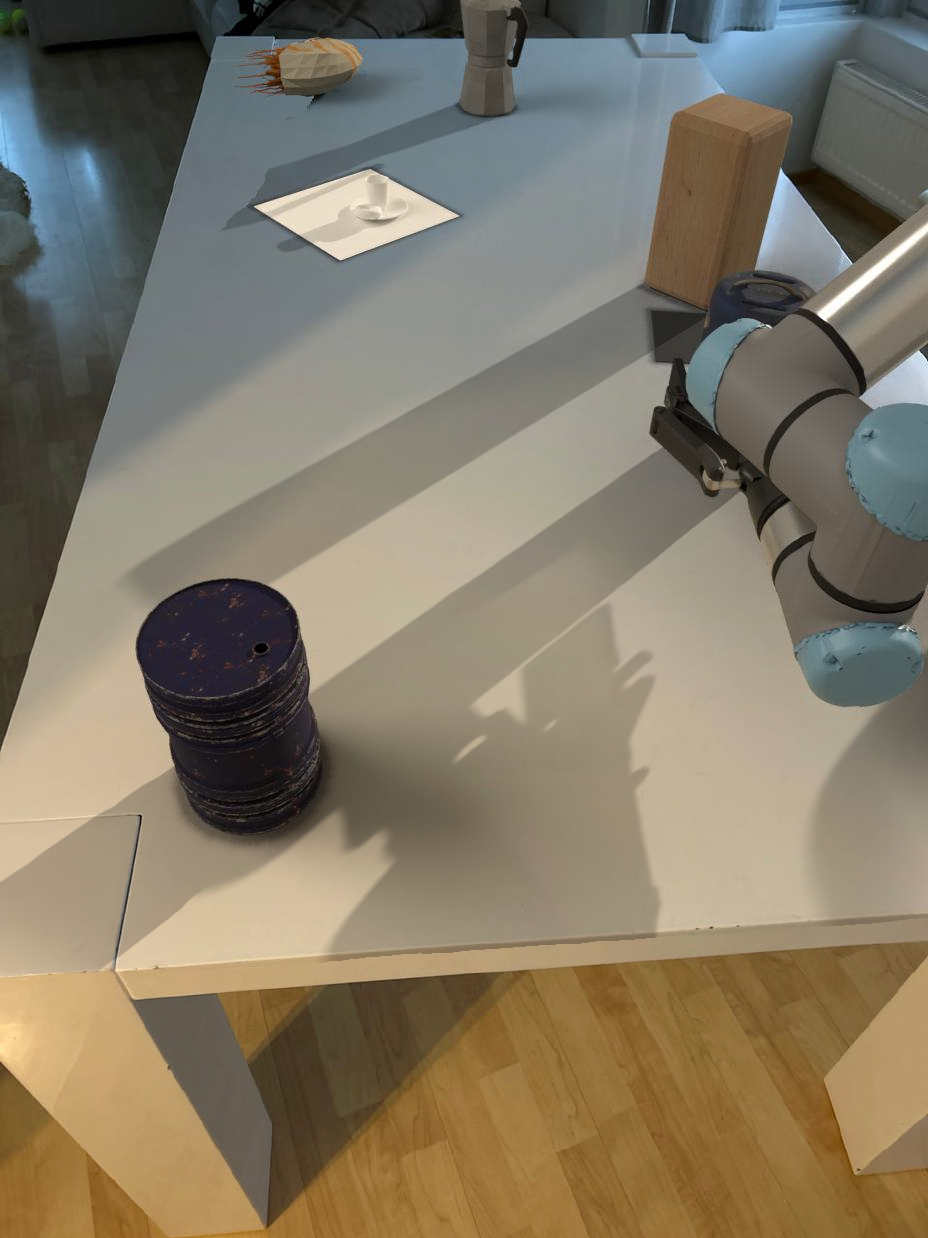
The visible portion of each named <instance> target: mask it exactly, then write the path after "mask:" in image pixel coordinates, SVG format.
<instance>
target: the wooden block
mask: <svg viewBox="0 0 928 1238" xmlns="http://www.w3.org/2000/svg"><path fill="white" fill-rule="evenodd" d="M792 124H793V115H792V114H791V113H789V112H787V111H785V110H781V109H778V108H774V107H771V106H767V105H764V104H762V103H757V102H754V101H751V100H748V99H744V98H741V97H738V96H734V95H730V94H727V93H725V92H724V93H723V92H721V93H716V94H713V95H712V96H709V97H706V98H704V99H702V100H700V101H698V102H696V103H693V104H692V105H690V106H687V107H685V108H682V109H680V110H678V111H676V112H675V113H674V114H673V116H672V118H671V120H670V125H669V130H668V131H669V132H668V137H667V143H666V149H665V153H664V160H663V166H662V173H661V179H660V185H659V190H658V197H657V203H656V210H655V215H654V221H653V227H652V233H651V240H650V245H649V251H648V256H647V257H648V258H647V264H646V269H645V275H644V276H645V277H644V281H645V284H646V285H647V286H648V287H650V288H652V289H655V290H657V291H658V292H659V291H660V292H661V293H664V294H667V295H669V296H671V297H674V298H676V299H679V300H681V301H684V302H686V303H688V304H690V305H692V306H695V307H698V308H700V309H702V310H707V311H708V308H709V304H710V300H711V296H712V293H713V290H714V289H715V287H716V285H717V284H718V283H719V282H720V281H721V280H722V279H724V278H725V277H727V276H729V275H732V274H734V273H737V272H742V271H750V270H756V267H757V263H758V260H759V256H760V251H761V247H762V243H763V239H764V235H765V231H766V227H767V223H768V220H769V216H770V213H771V212H770V211H771V208H772V204H773V199H774V197H775V192H776V189H777V184H778V180H779V176H780V172H781V170H782V169H781V168H782V166H783V165H782V163H783V161H784V157H785V153H786V150H787V149H786V148H787V145H788V140H789V137H790V132H791V129H792Z"/></svg>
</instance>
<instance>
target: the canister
mask: <svg viewBox="0 0 928 1238" xmlns="http://www.w3.org/2000/svg"><path fill="white" fill-rule="evenodd" d="M817 293H818V292H816V291H815V290H814V289H813V288H812V287H811V286H810V285H809V284H808V283H806V282H805V281H803V280H801V279H799V278H797V277H795V276H793V275H788V274H785V273H782V272H778V271H772V270H762V269H755V270H750V271H742V272H737V273H734V274H732V275H729V276H727V277H725V278H724V279H722V280H721V281H720V282H719V283H718V284H717V285H716V287H715V289H714V290H713V293H712V296H711V300H710V304H709V308H708V310H707V312H706V313H707V316H706V320H705V324H704V328H703V333H702V337H701V341H700V345H701V344H702V342H703V341H704V340H705V339H706V338H707V337H708V336H709V335H710V334H711V333H712V332H713V331H715V330H716V329H717V328H719V327H720V326H722V325H724V324H730V323H733V322H736V321H737V320H738V319H742V318H749V319H754V320H757V321H759V322H761V323H764V324H767V325H770V326H771V327H772V328H773V327H775V326H776V325H777V324H779V323H780V322H781V321H782V320H783V319H785V318H786V317H787V316H788V315H790V314H791V313H792V312H793V311H795V310H796V309H798V308H799V307H801V306H802V305H803V304H804V303H805V302H807V301H808V300H809V299H810V298H812V297H813V296H814V295H815V294H817ZM700 345H699V346H700ZM693 408H694V409H696V408H695V407H694V406H693ZM696 410H697V409H696ZM746 460H747V458H746V459H745V461H746ZM726 466H727V465H726Z"/></svg>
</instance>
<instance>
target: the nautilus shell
mask: <svg viewBox="0 0 928 1238" xmlns="http://www.w3.org/2000/svg"><path fill="white" fill-rule="evenodd" d="M273 52H274V53H275V54H273ZM262 53H271V54H266V55H264V54H262ZM242 57H245V58H249V61H252V60H262V59H264V61H260V62H254V63H253V62H251V63H242V64H236V65H233V68H234V67H235V68H236V67H242V66H261V65H265V66H263V70H265V69H266V68H267V67H268V66H270V69H267V70H265V72H264V73H262V74H252V75H247V76H237V77H236V78H237V79H247V78H249V79H250V78H254V77H256V78H261V77H262V78H263V79H264V80H266V81H267V82H266V83H265V82H263V83H258V84H252V85H244V86H243V85H242V86H239V85H238V86H234V87H235V88H253V91H251V92H249V93H248V94H249V95H250V94H253V93H256V92H258V93H261V94H268V95H267V96H264V97H263V99H265V98H268V97H272V96H275V95H283V94H284V95H285V96H301V97H306V98H309V97H315V96H319V95H322V94H325V93H328V92H331V91H333V90H335V89H337V88H339V87H340V86H342V85H344V84H345V83H347V82H349V81H350V80H352V79H353V78H354V76H355V75H356V74H357V72H358V70H359V68H360V66H361V65H362V62H363V59H364V58H363V56H362V55H361V53H359V51H358V49H357V48H356V47H355V45H353V44H351V43H348V42H346V41H344V40H340V39H337V38H331V37H325V38H321V37H320V36H317V37H311V38H308V39H306V40H303V41H299V42H291V43H289V44H287V45H286V46H283V47H276V48H274V49H268V50H267V49H263V50H259V49H256V52H252V53H250V54H249V55H242ZM253 57H254V58H253ZM265 76H266V77H272V78H273V79H267V78H266V77H265ZM257 88H259V89H260V90H259V89H257ZM268 90H276V91H268Z"/></svg>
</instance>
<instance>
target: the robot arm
mask: <svg viewBox="0 0 928 1238" xmlns="http://www.w3.org/2000/svg"><path fill="white" fill-rule="evenodd" d="M816 293H817V294H815V295H814V296H813V297H812V298H810V299H809V300H808V301H807V302H805V303H804V304H803V305H802V306H801V307H799V308H798V309H796V310H795V311H793V312H792V313H791V314H790V315H788V316H787V317H786V318H785V319H783V320H782V321H781V322H780V323H779V324H777V325H776V326H775V327H773V328H772V327H771V326H770V325H767V324H764V323H761V322H759V321H757V320H754V319H749V318H742V319H738V320H737V321H736V322H733V323H730V324H724V325H722V326H720V327H719V328H717V329H716V330H715V331H713V332H712V333H711V334H710V335H709V336H708V337H707V338H706V339H705V340H704V341H703V342H702V344H701V345H700V346H699V348H698V349H697V350H696V352H695V354H694V355H693V357H692V359H691V362H690V364H689V365H688V366H687V369H686V366H685V363H683V360H682V358H674V359H673V363H672V365H671V371H670V374H669V379H668V385H667V386H666V389H665V393H664V397H663V398H664V399H663V405H664V406H663V405H656V406H654V408H653V410H652V415H651V420H650V426H649V431H648V434H649V436H650V437H652V438H653V440H654V441H656V443H658V444H659V445H660V446H661V447H662V448H663V449H664V450H666V452H668V453H669V454H670V455H671V457H673V458H674V459H675V460H676V461H677V462H678V463H679V464H680V465H681V466H682V467H683V468H684V469H686V470H687V472H688V473H690V474H691V475H692V476H693V478H695V479H696V480H697V482H698V483H699V485H700V487H701V490H702V492H703V494H704V495H705V496H706V497H707V498H717V497H718V496H719V494H720V491H721V489H734V488H737V489H738V490H739V492H741V493H742V494H743V495H744V496H745V498H746V501H747V507H748V511H749V514H750V518H751V520H752V524H753V528H754V530H755V532H756V533H755V534H756V536H757V539H758V541H759V543H760V547H761V550H762V553H763V555H764V559H765V562H766V565H767V568H768V571H769V574H770V578H771V581H772V583H773V586H774V588H775V592H776V594H777V597H778V600H779V604H780V607H781V610H782V613H783V617H784V620H785V624H786V628H787V630H788V633H789V637H790V640H791V644H792V647H793V649H792V651H793V656H794V658H795V660H796V662H798V665H799V667H800V670H801V672H802V674H803V677H804V679H805V681H806V683H807V686H808V688H809V689H810V691H811V692H812V693H813V695H814V696H815V697H817V698H818V699H819V700H820V701H823V702H824V703H827V704H828V705H829V704H830V705H832V706H834V707H835V706H836V707H840V708H850V707H858V708H866V707H871V706H876V705H880V704H883V703H886V702H888V701H890V700H893V699H895V698H897V697H899V696H901V695H902V694H904V693H905V692H907V691H908V690H909V689H910V688H912V686H913V685H914V684H916V682H917V681H918V679H919V678H920V676H921V675H922V672H923V669H924V660H925V659H924V652H923V649H922V647H921V642H920V640H921V638H920V636H919V633H918V632H917V631H916V629H915V628H914V627H913V617H914V614H915V613H916V611H917V609H918V607H919V606H920V605H921V602H922V601H923V598H924V596H925V594H926V590H927V587H928V405H926V404H922V403H912V402H899V403H891V404H886V405H883V406H879V407H876V408H875V409H874V408H873V407H871V406H870V405H868V404H867V403H866V402H865V401H863V400H862V399H861V398H860V397H861V396H863V395H864V394H865V393H866V392H867V391H869V390H870V389H871V388H872V387H874V386H875V385H876V384H877V383H879V382H880V381H882V379H884V378H885V377H886V376H888V375H889V374H890V373H892V372H893V371H895V369H897V368H898V367H899V366H900V365H902V364H903V363H904V362H906V361H907V360H908V359H910V358H911V357H912V356H914V355H915V354H916V353H917V352H919V350H921V349H922V348H923V347H925V346H926V345H927V344H928V202H927V203H926V204H925V205H924V206H922V207H921V208H920V209H919V210H917V211H916V212H915V213H913V214H912V215H911V216H909V218H907V219H906V220H905V221H904V222H903V223H902V224H900V225H899V226H898V227H896V228H895V229H894V230H893V231H892V232H890V233H889V234H888V235H886V236H885V237H884V238H883V239H882V240H880V241H879V242H878V243H876V244H875V245H874V246H873V247H872V248H871V249H869V250H868V251H867V252H866V253H864V254H863V255H862V256H861V257H859V258H858V259H857V260H856V261H855V262H853V263H851V265H850V266H849V267H847V268H846V269H844V271H843V272H841V273H840V274H838V275H837V276H836V277H835V278H833V280H831V281H830V282H829V283H828V284H826V285H825V286H824V287H823V288H822V289H820V290H818V292H816ZM693 406H694V407H695V408H696V409H697V410H696V409H694V408H693ZM746 458H747V460H746V461H745V459H746ZM726 465H727V466H726Z"/></svg>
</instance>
